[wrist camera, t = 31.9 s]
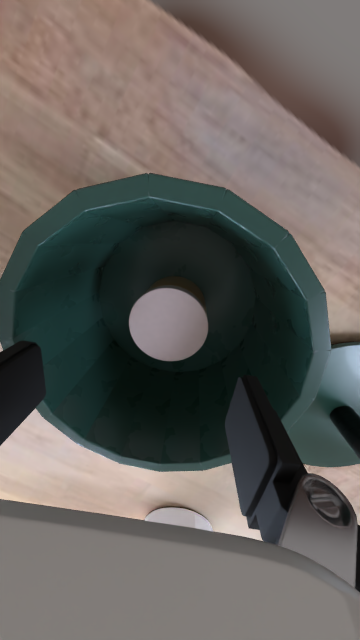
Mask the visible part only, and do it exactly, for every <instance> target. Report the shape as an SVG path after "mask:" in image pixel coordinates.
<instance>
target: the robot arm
mask: <svg viewBox="0 0 360 640" xmlns="http://www.w3.org/2000/svg"><path fill="white" fill-rule="evenodd" d="M45 395H46V386H45V378H44V369H43V361H42V353H41V348H40V346H38V344H37V343H36V342H30V341H24V340H21V341H19V342H17V343H16V344H14V345H12V346H10V347H9V348H7V349H5V350H3V351H2V352H0V445H1V444H2V443H3V442H4V441H5V440H6V439H7V438H8V437H9V436H10V435H11V434H12V433H13V431H14V430H15V429H16V428H17V427H18V426H19V425H20V424H21V423H22V422H23V421H24V420H25V419H26V418H27V416H28V415H29V414H30V413H31V412H32V411H33V410H34V409H35V408H36V407H37V406H38V405H39V404H40V403H41V401H42V400H43V399H44V397H45ZM225 429H226V434H227V440H228V445H229V450H230V455H231V461H232V466H233V471H234V477H235V482H236V487H237V493H238V498H239V503H240V508H241V512H242V515H243V516H246V517H247V522H248V527H249V528H250V529H257V530H260V533H261V537H262V540H263V541H260V540H255V539H251V538H247V537H242V536H236V535H231V534H225V533H219V532H214V531H208V530H202V529H196V528H190V527H184V526H177V525H171V524H164V523H158V522H151V521H145V520H138V519H132V518H125V517H119V516H112V515H105V514H99V513H92V512H85V511H78V510H71V509H65V508H58V507H51V506H44V505H37V504H30V503H24V502H17V501H10V500H3V499H0V640H360V526H359V525H358V523H357V517H356V514H355V512H354V509H353V507H352V505H351V504H350V502H349V501H348V499H347V498H346V496H345V495H344V494H343V493H342V492H341V491H340V490H339V489H338V488H337V487H336V486H335V485H333V484H332V483H331V482H330V481H328V480H326V479H325V478H323V477H321V476H319V475H316V474H310V473H307V471H306V469H305V467H304V465H303V463H302V461H301V459H300V457H299V455H298V453H297V451H296V449H295V447H294V445H293V443H292V441H291V439H290V437H289V436H288V434H287V432H286V430H285V428H284V426H283V424H282V422H281V420H280V418H279V416H278V414H277V412H276V411H275V410H274V409H273V408H272V406H271V404H270V402H269V400H268V398H267V396H266V394H265V392H264V390H263V388H262V386H261V384H260V382H259V380H258V378H257V377H256V376H250V375H243V376H242V377H239V378H238V381H237V384H236V387H235V390H234V394H233V397H232V400H231V403H230V406H229V410H228V413H227V416H226V420H225Z"/></svg>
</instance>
